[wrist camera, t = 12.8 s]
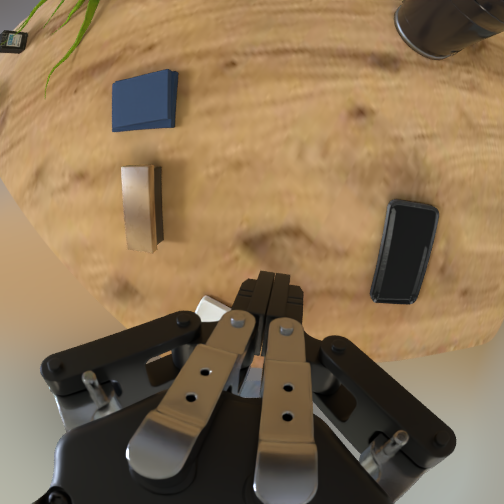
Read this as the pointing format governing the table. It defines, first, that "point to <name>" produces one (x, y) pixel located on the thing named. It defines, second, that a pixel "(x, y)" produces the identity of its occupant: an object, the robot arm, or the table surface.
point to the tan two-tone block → (142, 207)
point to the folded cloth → (145, 101)
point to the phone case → (211, 309)
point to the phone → (404, 252)
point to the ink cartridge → (12, 41)
